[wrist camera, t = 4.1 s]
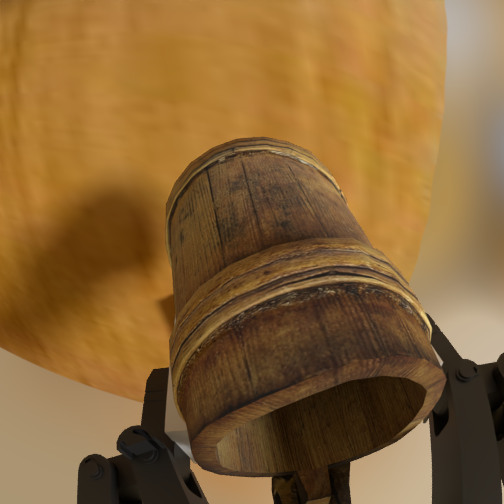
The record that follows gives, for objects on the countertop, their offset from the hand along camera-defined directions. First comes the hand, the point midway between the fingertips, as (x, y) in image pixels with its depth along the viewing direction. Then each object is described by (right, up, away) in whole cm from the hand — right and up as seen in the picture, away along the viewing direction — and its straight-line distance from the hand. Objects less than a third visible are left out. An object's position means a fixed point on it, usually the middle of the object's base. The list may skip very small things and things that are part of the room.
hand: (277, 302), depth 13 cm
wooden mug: (-1, +2, +3) cm, 3 cm away
